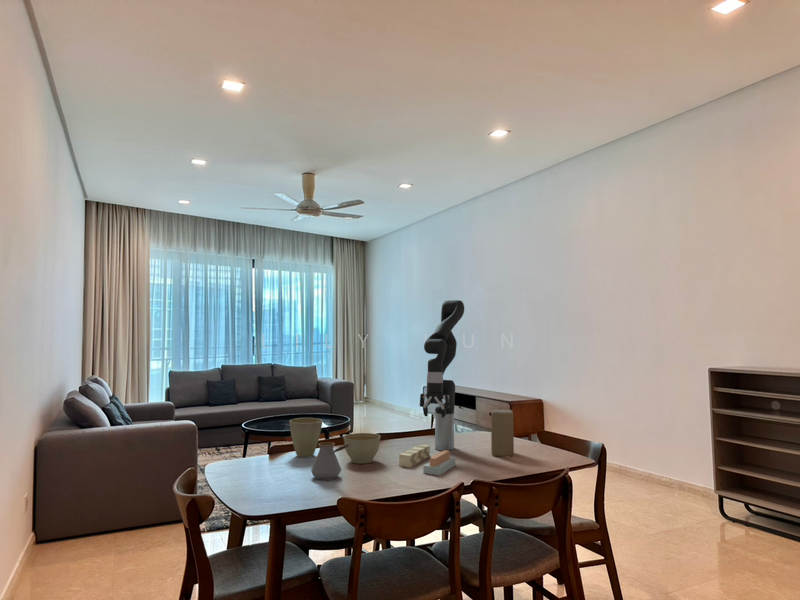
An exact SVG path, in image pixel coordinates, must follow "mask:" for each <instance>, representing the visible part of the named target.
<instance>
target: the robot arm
mask: <svg viewBox="0 0 800 600" xmlns="http://www.w3.org/2000/svg"><path fill="white" fill-rule="evenodd" d="M464 314H465V304H464V302H463V301H462V300H458V299H457V300H456V299H455V300H453V299H452V300H444V301H443V302H442V305H441V314H440V323H439V324H438V325H436V329H435V330H434V332H433V333H432V334H431V335H430V336H428V338H426V340H425V342H424V345H423V350H424V351H425V352H426V353H427V354H429V355H436V357H435V358H431V359H429V360H428V361H427V375H426V394H425V393H420V396H419V407H421V408H423V416H424V417H428V415H429V411H428V410H429V408H428V407H429V406H430V405H431V404H432V405H433V404H436V405H437V406H435V409H434V420H435V421H434V430H435V431H434V433H435V434H434V449H435V450H438V451H444V450H448V451H453V450H455V402H456V401H455V398H456V384H455V382H454V381H453V380H451V379H444V374H445V371H446V370H447V368H448V367H449V366H450V364H451V363H452V362H453V360H454V359H455V357H456V355H457V347H458V345H457V339H456V337H455V336H454V334H453V333H454V332H452V330H453V329H454V327H455V326H456V325H457V324H458V323H459V322H460V320H461V319H462V317H463V316H464ZM425 399H426V401H425ZM443 400H444V401H443Z"/></svg>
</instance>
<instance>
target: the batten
mask: <svg viewBox="0 0 800 600" xmlns="http://www.w3.org/2000/svg"><path fill="white" fill-rule="evenodd" d="M430 447H431V446H430V445H426V444H418V445H415V446H414V447H412V448H410V449H408V450H405V451H403V452H401V453H399V454H398V466H399V465H400V466H399V467H404V466H406V467H405V468H411V467H414V466H415V465H417V464H418V463H420V462H422V461H423V459H424V460H425V459H427V458H428V456H429V457H430V456H431V452H430V450H431V449H430ZM421 460H422V461H421ZM416 463H417V464H416ZM414 464H415V465H414Z"/></svg>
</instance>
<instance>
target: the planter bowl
mask: <svg viewBox="0 0 800 600" xmlns="http://www.w3.org/2000/svg"><path fill="white" fill-rule="evenodd" d="M343 443H344V445H349V446H348V447H346V449H345V451H346V454H347V455H348V457H349V458H350V462H351V463H353V464H360V465H361V464H369V463H373V462H374V458H375V457H376V455H377V453H378V451H379V448H380V444H381V435H380V434H378V433H371V432H357V433H356V432H355V433H350V434H346V435H344V436H343ZM344 445H343V446H344ZM350 447H351V448H350ZM349 449H350V450H349Z"/></svg>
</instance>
